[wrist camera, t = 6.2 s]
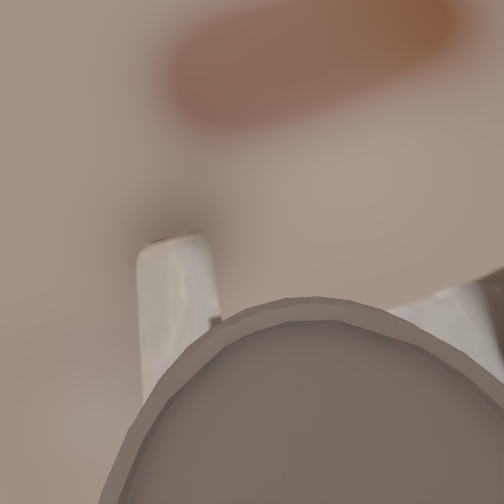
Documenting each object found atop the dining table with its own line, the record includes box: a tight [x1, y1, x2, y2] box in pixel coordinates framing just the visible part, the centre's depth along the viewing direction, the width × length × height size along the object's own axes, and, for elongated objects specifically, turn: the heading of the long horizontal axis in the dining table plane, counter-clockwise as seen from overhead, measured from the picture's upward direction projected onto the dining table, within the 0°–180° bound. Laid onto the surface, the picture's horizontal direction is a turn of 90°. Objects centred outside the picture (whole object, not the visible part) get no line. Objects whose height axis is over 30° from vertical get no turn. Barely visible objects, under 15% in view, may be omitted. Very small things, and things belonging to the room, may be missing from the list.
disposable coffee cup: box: [98, 297, 504, 504], centre depth 9 cm, size 10×10×12 cm
